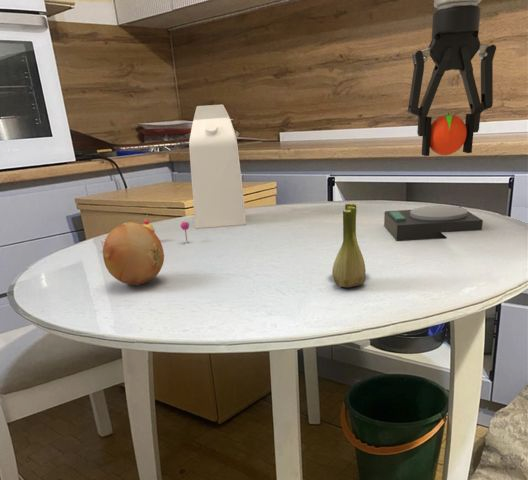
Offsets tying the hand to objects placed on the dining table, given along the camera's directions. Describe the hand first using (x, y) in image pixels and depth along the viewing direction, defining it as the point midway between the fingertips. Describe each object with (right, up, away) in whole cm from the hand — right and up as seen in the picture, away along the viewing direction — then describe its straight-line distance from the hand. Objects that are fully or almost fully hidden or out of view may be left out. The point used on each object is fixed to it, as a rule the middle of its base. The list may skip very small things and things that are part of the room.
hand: (446, 153), depth 98 cm
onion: (-55, -25, -9) cm, 61 cm away
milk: (-44, -5, +33) cm, 55 cm away
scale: (0, -12, +10) cm, 16 cm away
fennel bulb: (-21, -27, -18) cm, 38 cm away
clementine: (0, 0, 0) cm, 1 cm away
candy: (-59, -14, +15) cm, 62 cm away
